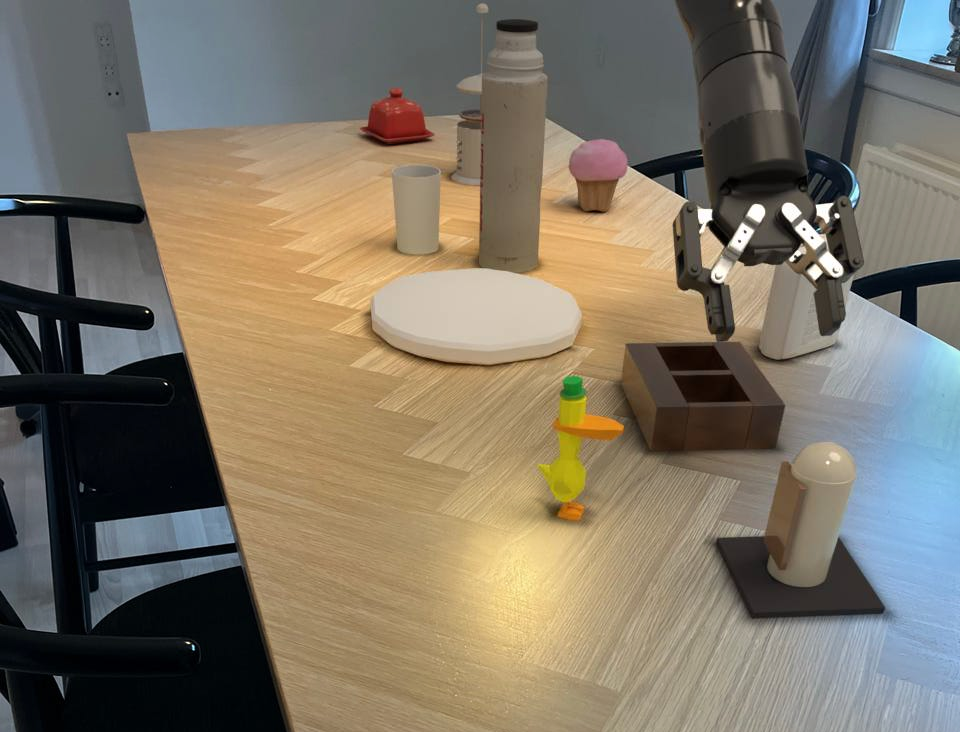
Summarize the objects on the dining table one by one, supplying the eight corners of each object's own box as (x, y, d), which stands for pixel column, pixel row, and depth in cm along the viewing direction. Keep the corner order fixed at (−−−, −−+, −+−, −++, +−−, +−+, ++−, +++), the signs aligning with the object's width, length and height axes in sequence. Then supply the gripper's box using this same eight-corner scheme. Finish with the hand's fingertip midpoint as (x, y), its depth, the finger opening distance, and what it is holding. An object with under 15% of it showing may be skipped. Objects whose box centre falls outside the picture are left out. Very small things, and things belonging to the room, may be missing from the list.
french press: (441, 181, 164) (440, 4, 148) (468, 165, 172) (470, -3, 157) (495, 188, 161) (500, 9, 146) (520, 172, 170) (527, 1, 154)
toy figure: (615, 509, 83) (631, 376, 76) (609, 531, 81) (625, 395, 73) (537, 498, 84) (545, 366, 77) (529, 520, 82) (536, 385, 74)
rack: (732, 382, 104) (739, 341, 101) (775, 449, 92) (785, 404, 89) (620, 384, 103) (625, 343, 100) (650, 452, 91) (656, 407, 89)
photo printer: (812, 333, 115) (838, 223, 107) (841, 345, 112) (870, 233, 104) (751, 352, 110) (773, 238, 102) (780, 365, 107) (806, 249, 100)
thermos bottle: (471, 269, 130) (473, 22, 112) (488, 251, 136) (494, 14, 118) (528, 276, 128) (540, 26, 111) (544, 258, 134) (558, 18, 116)
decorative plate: (618, 316, 107) (397, 339, 101) (614, 352, 109) (398, 377, 103) (539, 246, 125) (348, 262, 119) (537, 279, 128) (350, 296, 122)
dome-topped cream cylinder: (814, 553, 77) (849, 429, 71) (835, 586, 74) (873, 460, 67) (758, 555, 77) (787, 431, 70) (776, 589, 74) (808, 462, 67)
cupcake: (619, 202, 156) (627, 133, 150) (625, 218, 149) (632, 147, 143) (564, 201, 156) (568, 132, 150) (566, 217, 149) (571, 145, 143)
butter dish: (438, 141, 186) (437, 91, 181) (384, 148, 181) (382, 96, 176) (409, 129, 194) (408, 80, 188) (357, 135, 189) (354, 85, 183)
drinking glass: (435, 239, 140) (434, 163, 134) (446, 253, 135) (446, 176, 129) (390, 242, 138) (386, 165, 132) (399, 257, 133) (396, 178, 127)
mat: (835, 539, 80) (836, 533, 80) (883, 614, 72) (885, 607, 72) (715, 543, 79) (717, 537, 79) (751, 618, 72) (753, 612, 71)
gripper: (678, 108, 72) (707, 319, 70) (859, 103, 74) (891, 308, 72) (649, 168, 79) (674, 359, 78) (814, 162, 81) (842, 349, 80)
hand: (779, 334), depth 75 cm, fingers open, 8 cm apart
